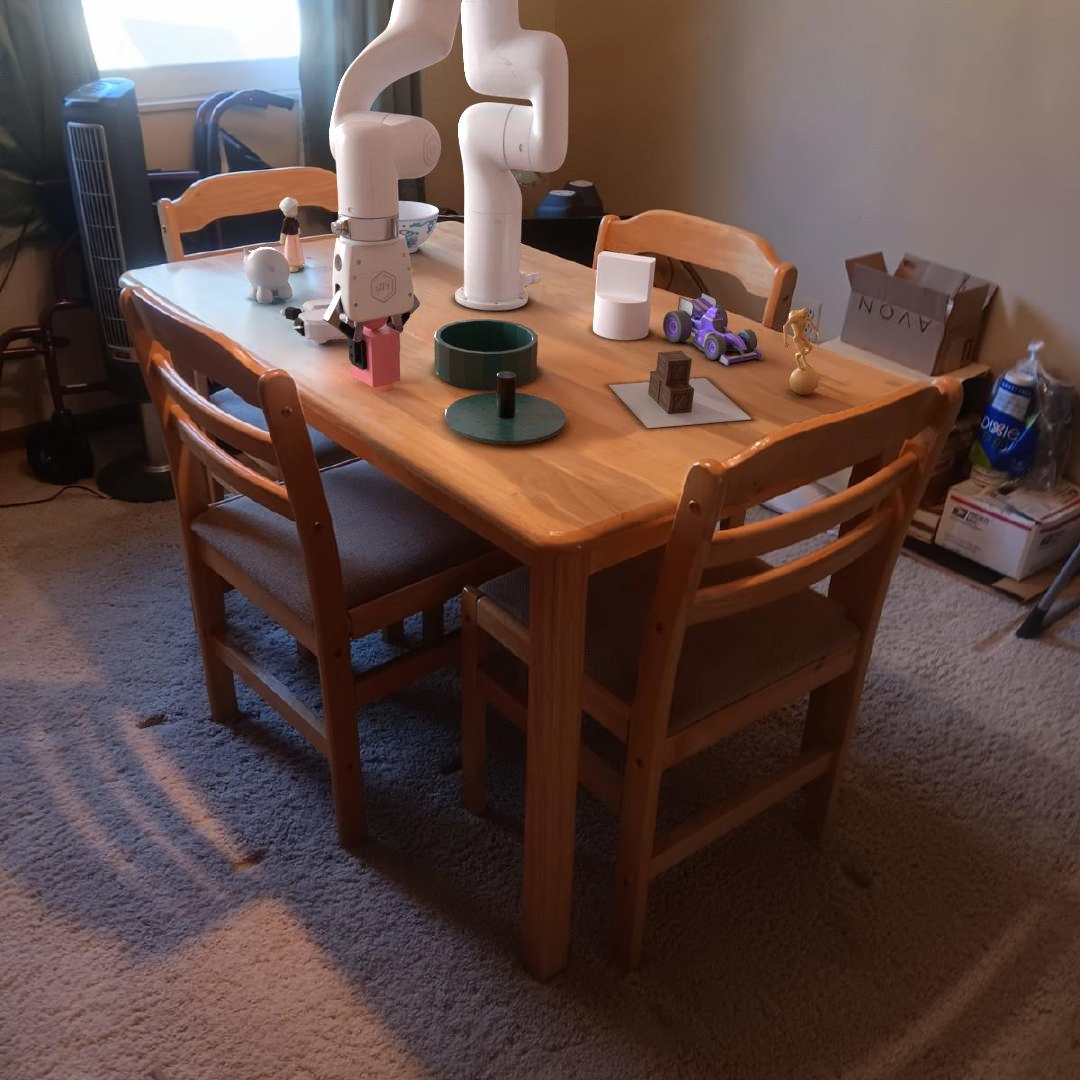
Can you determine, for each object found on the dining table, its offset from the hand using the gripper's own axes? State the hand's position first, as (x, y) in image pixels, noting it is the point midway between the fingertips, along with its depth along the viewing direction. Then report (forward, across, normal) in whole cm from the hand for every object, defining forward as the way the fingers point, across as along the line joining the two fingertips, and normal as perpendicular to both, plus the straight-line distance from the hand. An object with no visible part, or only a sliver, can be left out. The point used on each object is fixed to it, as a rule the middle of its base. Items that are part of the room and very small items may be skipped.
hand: (375, 361), depth 137 cm
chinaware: (+4, +42, +58) cm, 72 cm away
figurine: (+4, +48, -35) cm, 60 cm away
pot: (+3, +16, -4) cm, 17 cm away
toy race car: (+4, +52, -16) cm, 54 cm away
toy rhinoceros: (+4, +6, +45) cm, 46 cm away
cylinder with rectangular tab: (+4, +45, -2) cm, 45 cm away
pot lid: (+3, +7, -20) cm, 21 cm away
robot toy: (+4, +5, +22) cm, 23 cm away
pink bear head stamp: (+2, 0, 0) cm, 2 cm away
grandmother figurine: (+4, +18, +57) cm, 60 cm away
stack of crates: (+4, +31, -28) cm, 42 cm away
